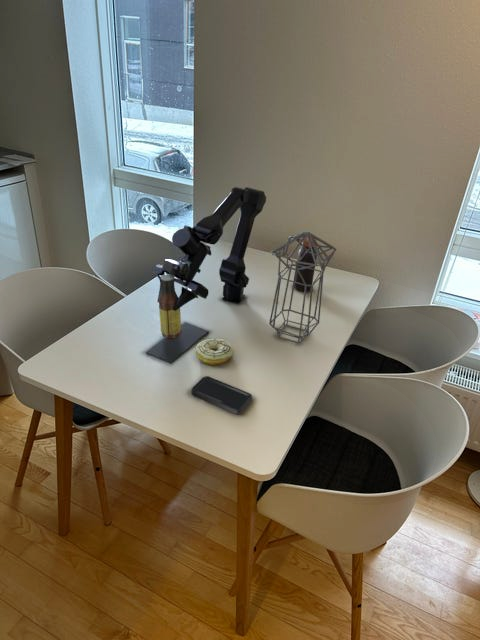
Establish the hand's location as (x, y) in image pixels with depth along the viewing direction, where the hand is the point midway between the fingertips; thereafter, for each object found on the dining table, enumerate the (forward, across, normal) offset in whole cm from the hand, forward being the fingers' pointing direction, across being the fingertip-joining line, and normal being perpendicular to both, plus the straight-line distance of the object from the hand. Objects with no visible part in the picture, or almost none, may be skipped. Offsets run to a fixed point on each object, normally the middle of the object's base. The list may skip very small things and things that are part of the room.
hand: (166, 306), depth 140 cm
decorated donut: (+6, +16, +11) cm, 21 cm away
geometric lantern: (-12, +27, +29) cm, 41 cm away
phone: (+14, +30, +2) cm, 33 cm away
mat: (+8, +4, +9) cm, 12 cm away
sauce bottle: (+7, 0, +9) cm, 11 cm away
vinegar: (-33, +12, +51) cm, 62 cm away
